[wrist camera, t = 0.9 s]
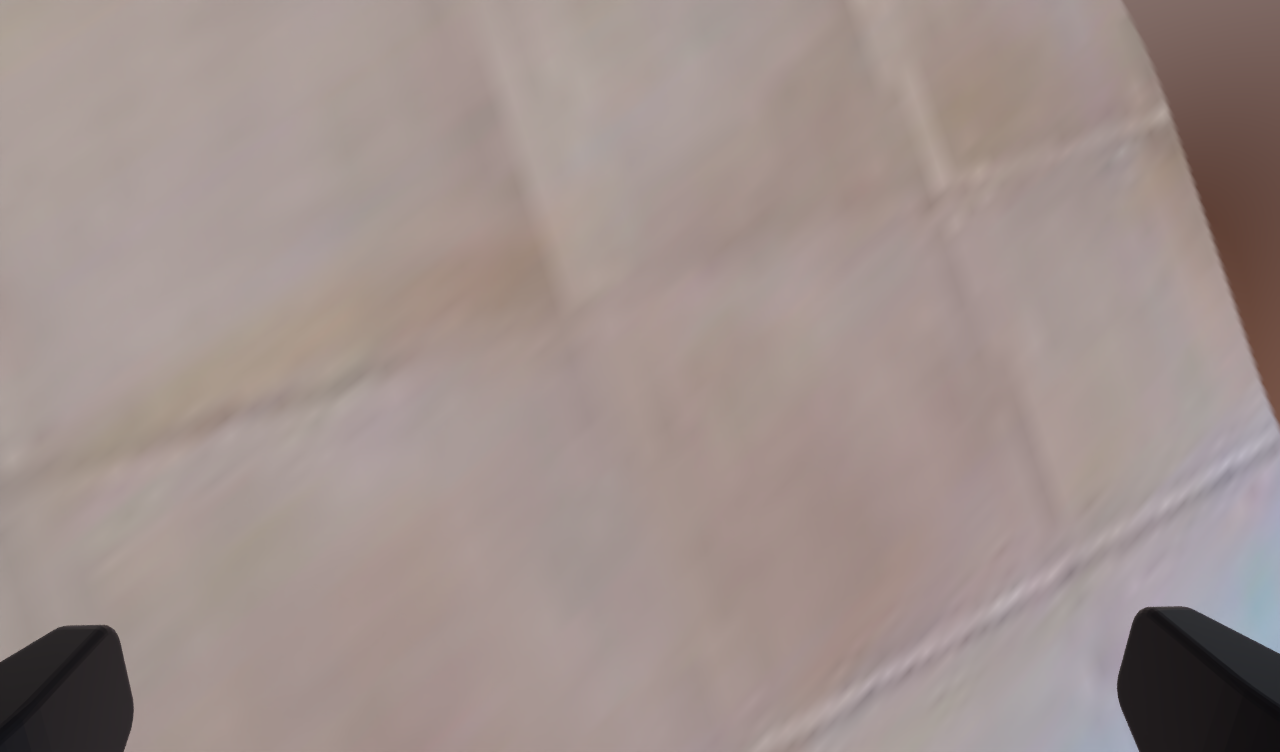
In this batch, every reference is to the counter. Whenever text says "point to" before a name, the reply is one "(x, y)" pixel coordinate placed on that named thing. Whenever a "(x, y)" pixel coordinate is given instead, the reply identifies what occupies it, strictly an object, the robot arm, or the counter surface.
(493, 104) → the counter surface
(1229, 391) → the counter surface
